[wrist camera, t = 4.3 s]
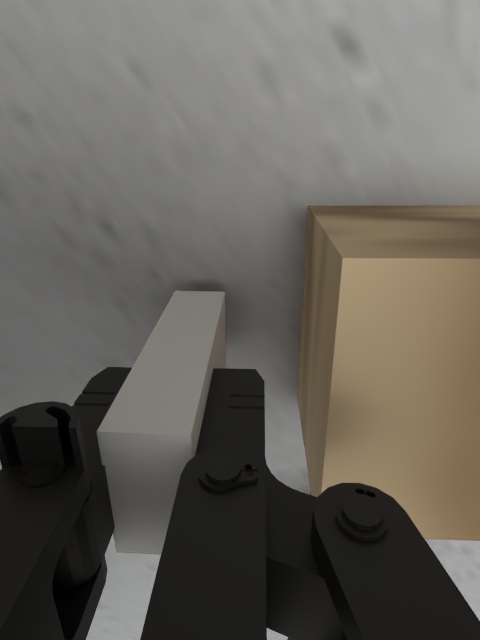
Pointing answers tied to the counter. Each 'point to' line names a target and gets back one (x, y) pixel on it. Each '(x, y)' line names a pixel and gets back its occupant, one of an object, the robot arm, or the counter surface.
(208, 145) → the counter surface
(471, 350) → the oak block
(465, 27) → the counter surface
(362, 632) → the robot arm
